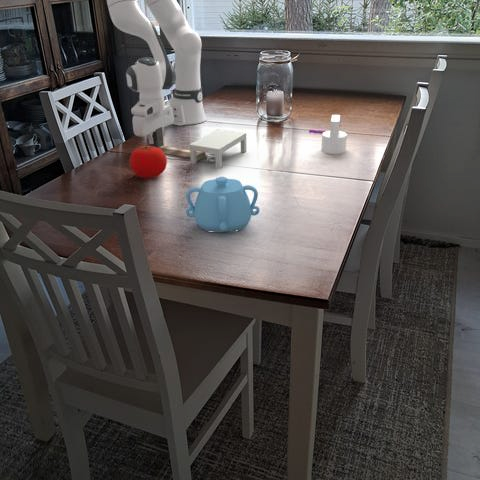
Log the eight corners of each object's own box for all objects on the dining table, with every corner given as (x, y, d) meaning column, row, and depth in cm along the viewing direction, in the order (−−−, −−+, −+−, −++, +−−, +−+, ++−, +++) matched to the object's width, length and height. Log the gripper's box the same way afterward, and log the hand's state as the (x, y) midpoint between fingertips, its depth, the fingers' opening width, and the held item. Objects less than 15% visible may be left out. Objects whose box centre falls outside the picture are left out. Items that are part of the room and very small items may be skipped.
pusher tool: (148, 152, 194) (145, 129, 190) (157, 147, 199) (155, 124, 195) (197, 161, 185) (195, 136, 181) (205, 156, 190) (204, 132, 185)
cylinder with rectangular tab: (345, 154, 188) (348, 122, 182) (320, 153, 190) (322, 121, 184) (345, 146, 196) (348, 115, 190) (322, 145, 197) (323, 114, 192)
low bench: (190, 163, 183) (189, 144, 180) (219, 146, 198) (218, 128, 195) (219, 168, 178) (219, 149, 175) (246, 151, 193) (246, 132, 190)
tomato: (129, 173, 176) (125, 143, 171) (163, 167, 180) (161, 138, 175) (135, 184, 167) (131, 154, 162) (171, 179, 171) (168, 148, 166)
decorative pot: (228, 206, 151) (226, 163, 145) (265, 225, 140) (264, 178, 134) (182, 223, 142) (178, 178, 136) (218, 244, 131) (215, 196, 125)
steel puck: (204, 162, 184) (204, 158, 184) (210, 158, 188) (210, 153, 188) (216, 164, 182) (216, 160, 182) (223, 159, 186) (222, 155, 186)
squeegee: (317, 120, 223) (340, 122, 219) (316, 124, 224) (339, 126, 220) (299, 141, 200) (324, 144, 196) (299, 146, 201) (324, 148, 197)
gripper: (162, 97, 197) (165, 132, 203) (127, 110, 181) (132, 148, 188) (175, 99, 194) (178, 135, 201) (142, 112, 178) (146, 150, 185)
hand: (156, 141), depth 194 cm, fingers closed on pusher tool, 3 cm apart
